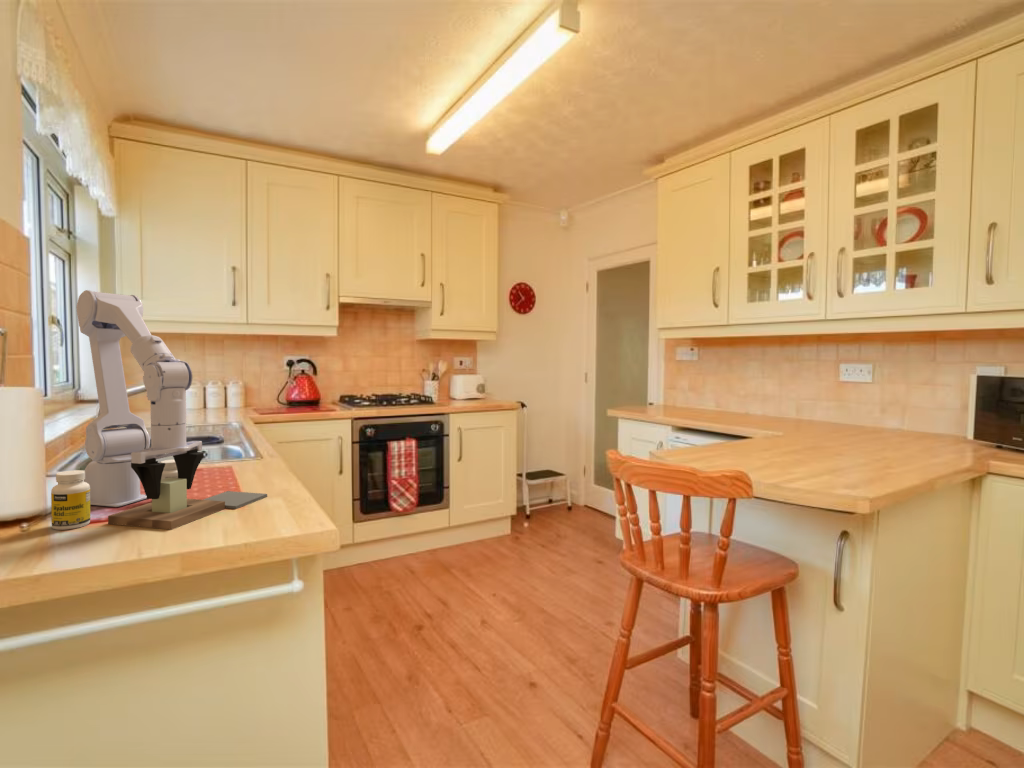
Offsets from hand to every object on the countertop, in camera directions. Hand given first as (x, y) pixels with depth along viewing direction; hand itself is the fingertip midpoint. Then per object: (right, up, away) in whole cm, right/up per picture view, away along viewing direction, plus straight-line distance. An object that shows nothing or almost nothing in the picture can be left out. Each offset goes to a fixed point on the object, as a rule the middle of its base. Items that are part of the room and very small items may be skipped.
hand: (169, 493), depth 101 cm
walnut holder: (0, -4, 0) cm, 4 cm away
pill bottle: (-7, -4, +12) cm, 14 cm away
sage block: (0, -5, 0) cm, 5 cm away
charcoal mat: (+6, -4, +11) cm, 13 cm away
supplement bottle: (-14, -5, -6) cm, 16 cm away
